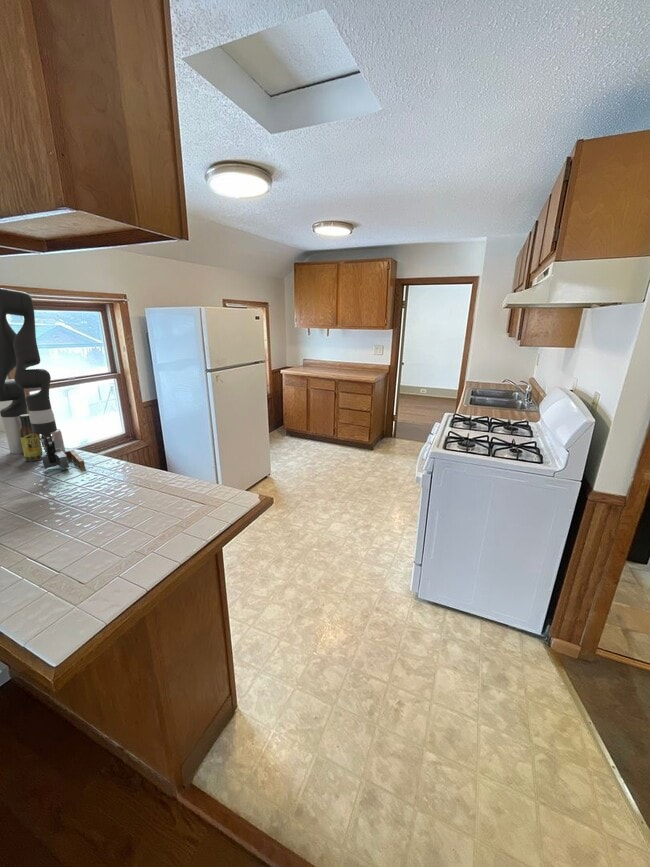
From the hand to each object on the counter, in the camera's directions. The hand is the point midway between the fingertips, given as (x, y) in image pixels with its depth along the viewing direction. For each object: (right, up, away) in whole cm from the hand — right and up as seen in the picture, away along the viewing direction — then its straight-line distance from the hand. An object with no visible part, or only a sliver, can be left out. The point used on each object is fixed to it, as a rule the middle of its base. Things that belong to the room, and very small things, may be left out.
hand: (52, 461), depth 140 cm
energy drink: (-8, +1, +14) cm, 17 cm away
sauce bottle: (-16, 0, +11) cm, 20 cm away
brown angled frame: (+3, -3, +3) cm, 5 cm away
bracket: (+3, -2, -1) cm, 4 cm away
